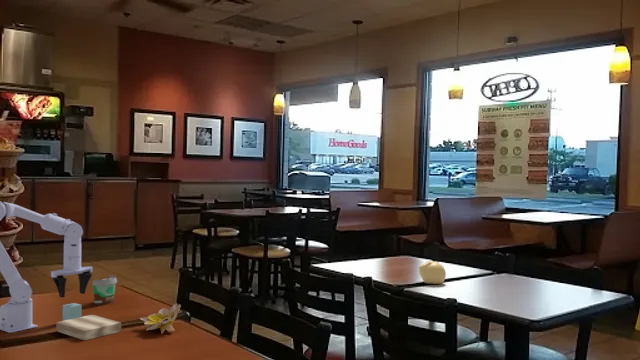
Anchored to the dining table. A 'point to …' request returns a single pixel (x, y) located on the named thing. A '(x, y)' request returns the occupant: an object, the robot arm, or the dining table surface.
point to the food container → (104, 290)
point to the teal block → (72, 311)
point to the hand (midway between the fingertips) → (72, 295)
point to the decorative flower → (162, 319)
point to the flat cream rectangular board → (88, 327)
